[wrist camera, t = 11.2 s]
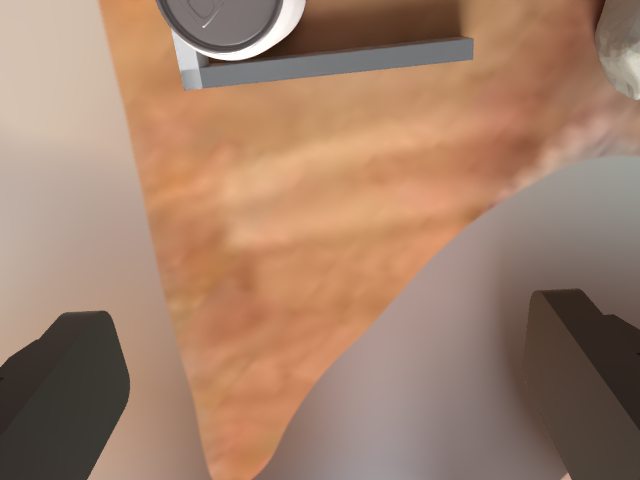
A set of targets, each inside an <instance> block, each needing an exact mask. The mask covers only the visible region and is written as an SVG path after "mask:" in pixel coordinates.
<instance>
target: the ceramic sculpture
mask: <svg viewBox="0 0 640 480" xmlns="http://www.w3.org/2000/svg"><path fill="white" fill-rule="evenodd" d="M595 45H596V49H597V52H598V55H599V59H600V61H601V64H602V68H603V71H604V73H605V74H606V76H607V78H608V80H609V83H610V84H611V85H612V86H613V87H614V88H615V89H616V90H618V91H620V92H621V93H623V94H625V95H627V96H628V97H630V98H632V99H634V100H638V99H640V0H606V1H605V4H604V8H603V11H602V14H601V17H600V20H599V22H598V25H597V28H596V32H595Z"/></svg>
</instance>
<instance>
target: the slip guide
mask: <svg viewBox="0 0 640 480" xmlns="http://www.w3.org/2000/svg"><path fill="white" fill-rule="evenodd" d="M171 30H172V29H171ZM172 35H173V40H174V45H175V49H176V54H177V59H178V64H179V68H180V73H181V78H182V83H183V88H184V90H193V89H202V88H211V87H221V86H230V85H240V84H249V83H258V82H268V81H277V80H287V79H296V78H305V77H315V76H324V75H333V74H343V73H352V72H362V71H371V70H380V69H390V68H399V67H409V66H418V65H427V64H437V63H446V62H456V61H465V60H473V41H474V39H473V38H469V37H464V36H457V37H448V38H439V39H430V40H421V41H412V42H402V43H393V44H384V45H375V46H366V47H357V48H348V49H338V50H329V51H320V52H311V53H302V54H293V55H284V56H274V57H265V58H256V59H247V60H238V61H229V62H220V63H210V64H209V59H208V56H206V55H204V54H202V53H200V52H198V51H196V50H194V49H193V48H191V47H190V46H188V45H187V44H186V43H185V42H184V41H182V40H181V39H180V38H179V37H178V36H177V34H176V33H175V32H174V31H173V30H172Z"/></svg>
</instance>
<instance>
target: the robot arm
mask: <svg viewBox="0 0 640 480" xmlns="http://www.w3.org/2000/svg"><path fill="white" fill-rule="evenodd" d="M523 369H524V377H525V381H526V385H527V389H528V392H529V394H530V396H531V398H532V400H533V402H534V404H535V406H536V408H537V410H538V412H539V414H540V416H541V418H542V420H543V422H544V424H545V426H546V428H547V430H548V432H549V434H550V436H551V439H552V440H553V443H554V444H555V446H556V448H557V451H558V453H559V455H560V457H561V459H562V461H563V463H564V465H565V466H566V469H567V471H568V473H569V475H570V477H571V479H572V480H640V330H639V329H637V328H635V327H634V326H632V325H631V324H629V323H627V322H625V321H624V320H622V319H620V318H619V317H617V316H615V315H603V314H602V313H601V312H600V310H599V309H598V308H597V307H596V306H595V305H594V303H593V302H592V301H591V300H590V299H589V298H588V297H587V296H586V294H585V293H584V292H583V291H582V290H580V289H558V290H537V291H535V292H533V294H532V296H531V300H530V306H529V315H528V324H527V332H526V340H525V349H524V358H523ZM129 391H130V378H129V373H128V369H127V366H126V363H125V359H124V356H123V353H122V349H121V346H120V343H119V339H118V336H117V333H116V329H115V326H114V323H113V320H112V318H111V316H110V315H109V313H108V312H106V311H86V312H66V313H63V314H62V315H60V316H59V317H58V318H57V320H56V321H55V322H54V323H53V324H52V325H51V326H50V327H49V329H48V330H47V331H46V332H45V333H44V334H43V335H42V336H41V337H40V339H39V340H35V341H34V342H32V343H30V344H29V345H28V346H26V347H25V348H23V349H21V350H20V351H18V352H17V353H15V354H14V355H13V356H11V357H9V358H8V360H7V361H6V362H5V363H4V364H3V365H2V366H1V367H0V480H87V479H88V477H89V475H90V473H91V471H92V469H93V468H94V466H95V464H96V462H97V460H98V458H99V456H100V454H101V452H102V450H103V449H104V447H105V445H106V443H107V441H108V439H109V437H110V435H111V433H112V431H113V430H114V428H115V426H116V424H117V422H118V420H119V418H120V416H121V414H122V413H123V411H124V409H125V407H126V404H127V401H128V398H129Z"/></svg>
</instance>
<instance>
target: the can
mask: <svg viewBox="0 0 640 480" xmlns="http://www.w3.org/2000/svg"><path fill="white" fill-rule="evenodd" d="M156 2H157V5H158V7H159V10H160V12H161V14H162V15H163V17H164V19H165V20H166V22H167V23H168V25H169V26H170V27H171V29H172V30H173V31H174V32H175V33H176V34H177V36H178V37H179V38H180V39H181V40H182V41H184V42H185V43H186V44H187V45H188V46H190V47H191V48H193V49H194V50H196V51H198V52H200V53H202V54H204V55H206V56H209V57H212V58H216V59H221V60H242V59H246V58H250V57H253V56H256V55H258V54H260V53H262V52H264V51H266V50H267V49H269V48H270V47H272V46H273V45H275V44H276V43H278V42H279V41H281V40H282V39H284V38H285V37H286V36H287V35H288V34H289V33H290V32H291V31H292V30H293V29H294V28H295V26H296V25H297V24H298V22H299V20H300V18H301V16H302V14H303V11H304V7H305V3H306V0H156Z"/></svg>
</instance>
